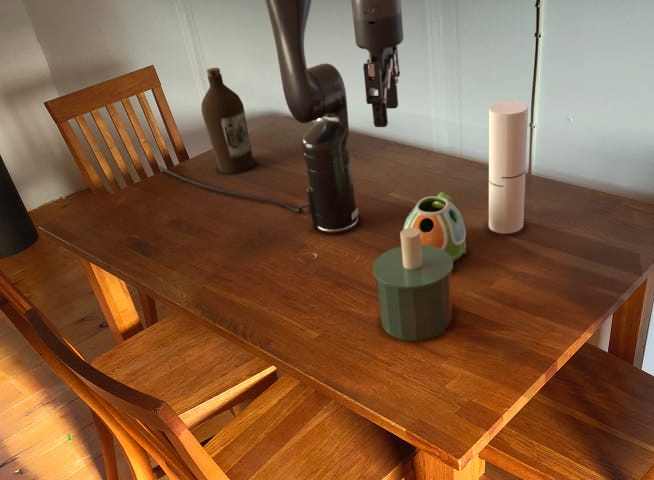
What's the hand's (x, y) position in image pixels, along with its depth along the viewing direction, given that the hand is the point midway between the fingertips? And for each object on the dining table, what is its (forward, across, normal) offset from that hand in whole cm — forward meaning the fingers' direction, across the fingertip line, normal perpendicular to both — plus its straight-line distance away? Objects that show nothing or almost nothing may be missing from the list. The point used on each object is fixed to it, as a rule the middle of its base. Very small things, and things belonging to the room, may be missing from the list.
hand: (386, 116), depth 112 cm
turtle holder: (+30, -6, +6) cm, 31 cm away
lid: (+20, +16, +6) cm, 26 cm away
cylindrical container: (+30, -18, +19) cm, 40 cm away
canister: (+30, +16, +6) cm, 35 cm away
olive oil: (+30, -49, -55) cm, 80 cm away
